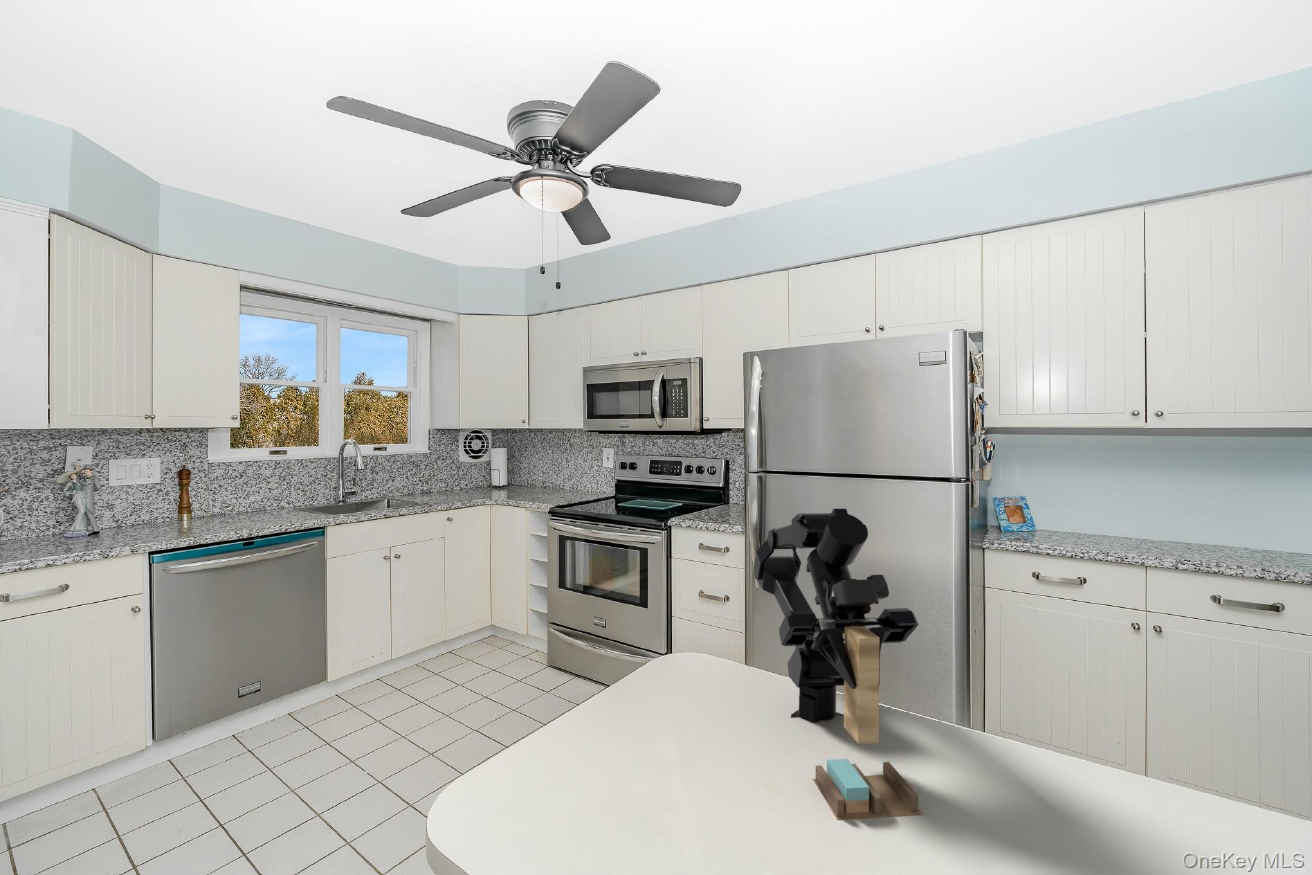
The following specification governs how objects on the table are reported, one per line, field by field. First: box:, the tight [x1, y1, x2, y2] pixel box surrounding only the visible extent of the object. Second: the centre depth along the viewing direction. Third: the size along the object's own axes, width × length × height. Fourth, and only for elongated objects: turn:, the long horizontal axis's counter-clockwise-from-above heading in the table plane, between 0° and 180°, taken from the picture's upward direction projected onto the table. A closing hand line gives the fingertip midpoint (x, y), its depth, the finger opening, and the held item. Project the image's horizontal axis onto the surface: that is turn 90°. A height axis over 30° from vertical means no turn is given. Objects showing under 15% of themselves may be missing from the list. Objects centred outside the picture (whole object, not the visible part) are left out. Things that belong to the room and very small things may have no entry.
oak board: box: [843, 626, 880, 745], centre depth 78 cm, size 4×3×14 cm, turn 5°
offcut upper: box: [826, 758, 869, 801], centre depth 71 cm, size 6×3×2 cm, turn 5°
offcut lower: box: [826, 771, 869, 813], centre depth 71 cm, size 6×3×2 cm, turn 5°
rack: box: [812, 761, 924, 821], centre depth 71 cm, size 8×11×3 cm
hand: (865, 687), depth 76 cm, fingers closed on oak board, 3 cm apart
